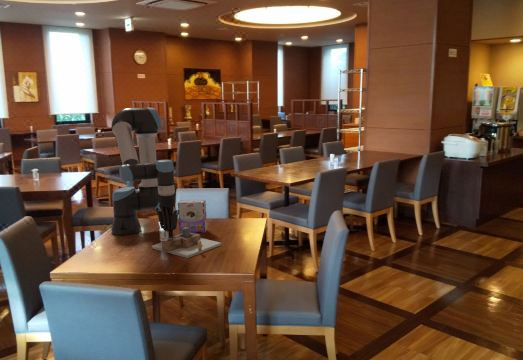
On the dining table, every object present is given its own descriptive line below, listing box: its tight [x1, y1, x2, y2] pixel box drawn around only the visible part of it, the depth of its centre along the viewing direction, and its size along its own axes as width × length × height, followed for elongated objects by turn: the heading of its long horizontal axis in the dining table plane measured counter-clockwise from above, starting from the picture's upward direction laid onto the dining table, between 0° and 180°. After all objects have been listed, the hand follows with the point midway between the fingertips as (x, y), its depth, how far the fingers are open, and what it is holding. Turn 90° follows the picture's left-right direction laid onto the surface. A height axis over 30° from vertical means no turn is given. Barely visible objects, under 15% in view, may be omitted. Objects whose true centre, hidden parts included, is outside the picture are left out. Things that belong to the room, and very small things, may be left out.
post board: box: [151, 227, 222, 259], centre depth 218 cm, size 24×22×9 cm
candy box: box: [177, 199, 208, 234], centre depth 243 cm, size 14×6×16 cm, turn 84°
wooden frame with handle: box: [161, 233, 201, 253], centre depth 215 cm, size 18×9×4 cm, turn 143°
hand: (169, 243), depth 215 cm, fingers closed
